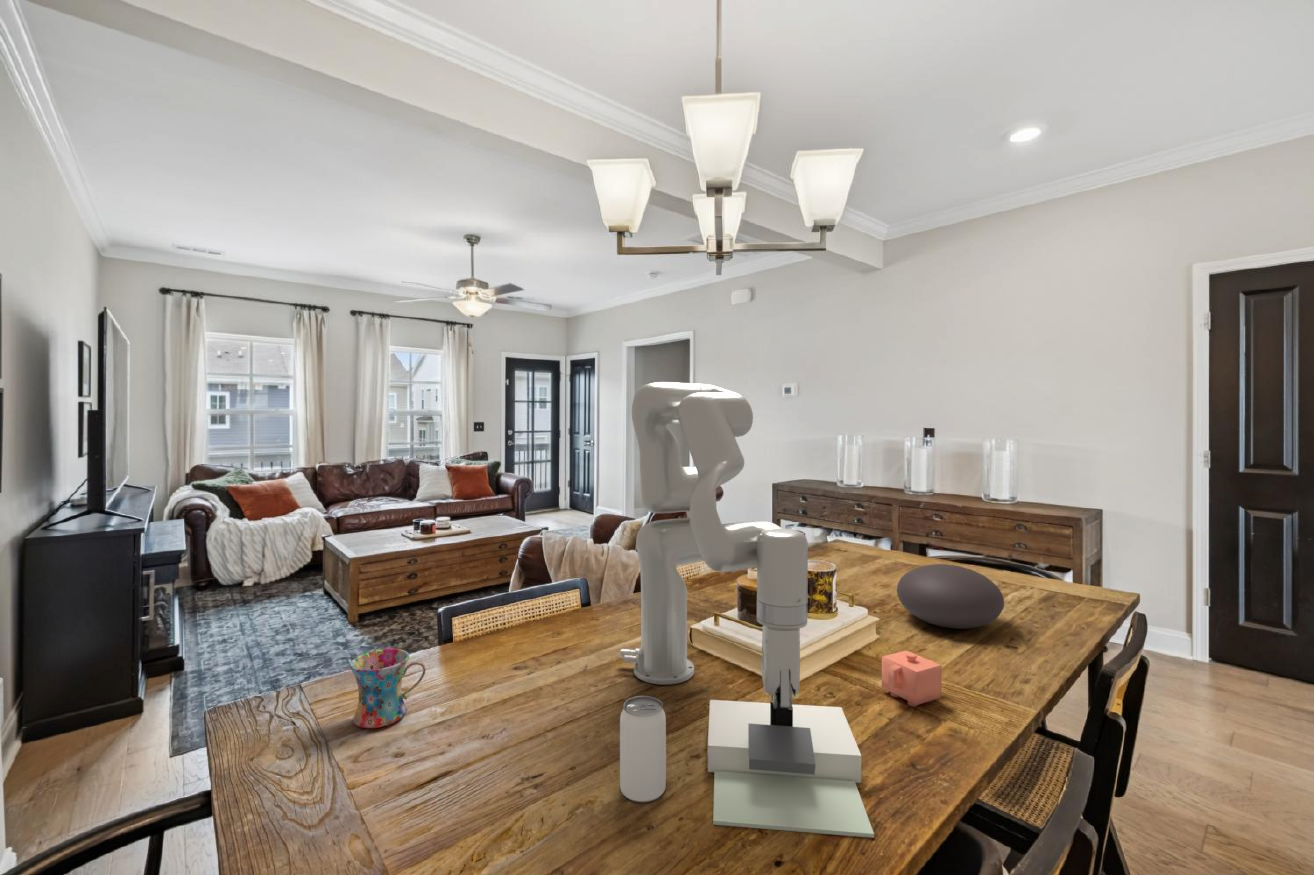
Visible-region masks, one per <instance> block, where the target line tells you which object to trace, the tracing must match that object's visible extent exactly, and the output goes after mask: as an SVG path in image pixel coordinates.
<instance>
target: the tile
mask: <svg viewBox="0 0 1314 875" xmlns="http://www.w3.org/2000/svg"><path fill="white" fill-rule="evenodd" d="M748 743H749V769H752V770H764V771H776V772H788V773H800V774H812V775H815V758H814V751H813V744H812V737H811V731H810V728H804V727H790V726H777V725H763V724H750V723H748Z"/></svg>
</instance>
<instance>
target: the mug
mask: <svg viewBox="0 0 1314 875" xmlns="http://www.w3.org/2000/svg"><path fill="white" fill-rule="evenodd" d="M409 659H410V654H409V652H408V651H406V650H403V649H400V648H384V649H382V648H381V649H377V650H372V651H369V652H366V653H363V654H361V655H358V656H357V657H355V658H354V659H352V661H351V662H350V664H349V668H350V669H351V671H352V673H353V676H354V678H355V681H356V684H357V688H358V689H357V690H358V702H357V703H358V704H357V708H356V712H355V714H354V715H353V718H352V719H353V723H354V725H356V726H357V727H359V728H363V729H377V728H382V727H385V726H389V725H391V724H394V723H395V722H397V721H399V720H401V719H402V718H403V717H404V716H405V715H406V714H407V711H408V707H407V704H406V702H405V700H407V699H408V696H407V694H408V693H410V692H412V690H414V689H415V688H417V686H418V685H419V684H420V683H421V681H422V680H423V678H424V676H425V675H426V670H427V669H426V665H425V664H424V663H423V662H421V661H413V662H410V663H409V664H408V665H407V663H408V660H409ZM416 665H419V666H421V667H422V674H421V676H420V677H419V679H418V680H417V682H415V684H413V685H412V686H410V687H409V688H407V689H406V690H405V691H403V689H402V685H403V684H402V682H403V677H405V676H406V672H407V671H408V669H409V668H410V667H412V666H416Z"/></svg>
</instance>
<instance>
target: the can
mask: <svg viewBox="0 0 1314 875" xmlns="http://www.w3.org/2000/svg"><path fill="white" fill-rule="evenodd" d="M663 706H664V705H663V702H662V701H661V700H660V699H658V698H656V697H653V696H650V695H649V696H648V695H638V696H633V697H630V698H628V699H626V700H625V702H624V703H623V706H622V712H621V713H620V717H619V784H620V786H619V789H620V791H621V793H622V795H623V796H624V797H625V798H626V799H628V800H629V801H632V802H635V803H640V804H641V803H642V804H643V803H651V802H653V801H656V800H657V799H659V798H660V797H661V796H662V795H663V794H664V792H665V790H666V785H667V784H666V780H667V778H666V777H667V770H666V769H667V731H666V730H667V726H666V725H667V723H666V722H667V721H666V720H667V719H666V718H667V717H666V713H665V710H664V708H663Z"/></svg>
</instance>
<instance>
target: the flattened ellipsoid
mask: <svg viewBox="0 0 1314 875" xmlns="http://www.w3.org/2000/svg"><path fill="white" fill-rule="evenodd" d="M896 593H897V597H898V600H899V601H900V603H901V605H902V606H903V607H904V608H905V610H907V611H908V613H910V614H912V615H913V616H914V617H916V618H918V619H920V620H922V621H924V622H926V623H928V624H931V625H935V626H938V627H942V628H948V629H957V630H961V629H962V630H965V629H968V630H969V629H975V628H979V627H982V626H985V625H988V624H990V623H993V621H995V620H997V618H999V616H1001V614H1002V612H1003V610H1004V609H1005V608H1004V607H1005V601H1004V596H1003V593H1002V591H1001V589H1000V587H998V586H997V585H996V583H994V581H993V580H991V579H989V578H988V577H987V576H986V575H983V574H981V572H977V571H975V570H973V569H970V568H967V567H964V566H959V565H954V564H947V563H946V564H944V563H936V564H935V563H934V564H926V565H922V566H918V567H916V568H913V569H910V570H909V571H907V572H906V573H905V574H904V575H902V576H901V578H900V580H899V581H898V583H897V587H896Z"/></svg>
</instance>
